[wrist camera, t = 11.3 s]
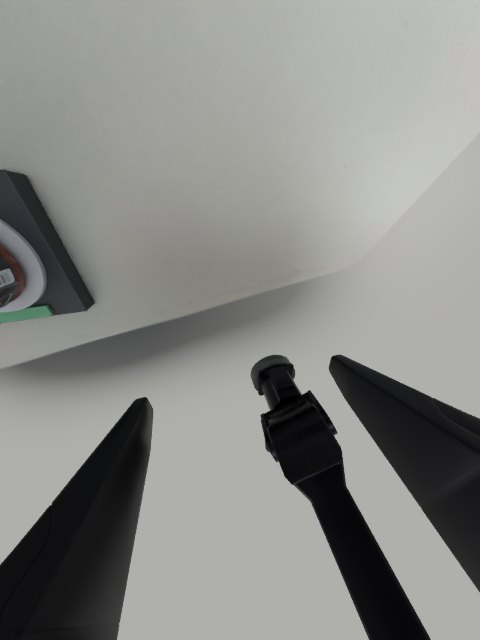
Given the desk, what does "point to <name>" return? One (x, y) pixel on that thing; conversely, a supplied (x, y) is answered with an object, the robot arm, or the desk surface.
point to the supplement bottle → (9, 278)
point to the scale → (36, 256)
